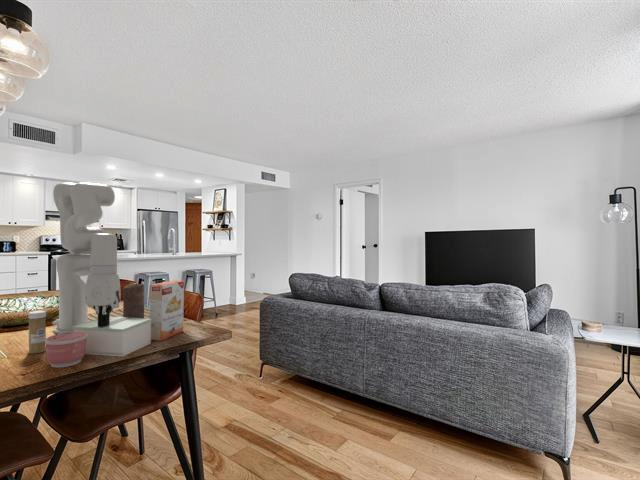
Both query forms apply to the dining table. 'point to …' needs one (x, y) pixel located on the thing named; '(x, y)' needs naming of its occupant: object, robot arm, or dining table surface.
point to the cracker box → (166, 309)
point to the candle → (133, 301)
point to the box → (117, 341)
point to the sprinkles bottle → (37, 331)
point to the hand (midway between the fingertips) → (103, 325)
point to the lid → (114, 324)
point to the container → (65, 349)
